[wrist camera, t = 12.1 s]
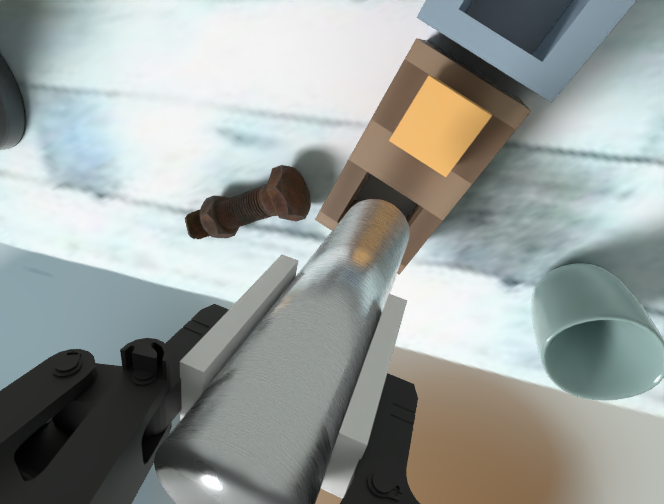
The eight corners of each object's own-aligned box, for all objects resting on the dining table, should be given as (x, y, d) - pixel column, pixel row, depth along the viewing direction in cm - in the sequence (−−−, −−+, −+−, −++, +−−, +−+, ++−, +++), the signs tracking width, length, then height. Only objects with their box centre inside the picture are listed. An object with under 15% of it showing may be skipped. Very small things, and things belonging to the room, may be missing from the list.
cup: (634, 310, 34) (685, 393, 26) (542, 330, 38) (561, 408, 30) (607, 238, 33) (653, 303, 24) (513, 267, 36) (524, 331, 28)
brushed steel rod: (336, 248, 24) (156, 502, 10) (351, 189, 22) (150, 413, 8) (397, 270, 23) (289, 573, 10) (418, 212, 21) (318, 495, 8)
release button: (403, 125, 32) (388, 140, 27) (437, 71, 30) (428, 75, 24) (450, 155, 32) (445, 177, 27) (488, 103, 30) (491, 116, 24)
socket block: (335, 197, 39) (314, 219, 34) (426, 40, 30) (416, 38, 25) (408, 245, 39) (399, 274, 34) (521, 101, 30) (531, 111, 25)
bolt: (209, 209, 47) (308, 173, 40) (214, 248, 47) (315, 219, 40) (169, 202, 42) (275, 159, 35) (174, 246, 42) (282, 212, 35)
